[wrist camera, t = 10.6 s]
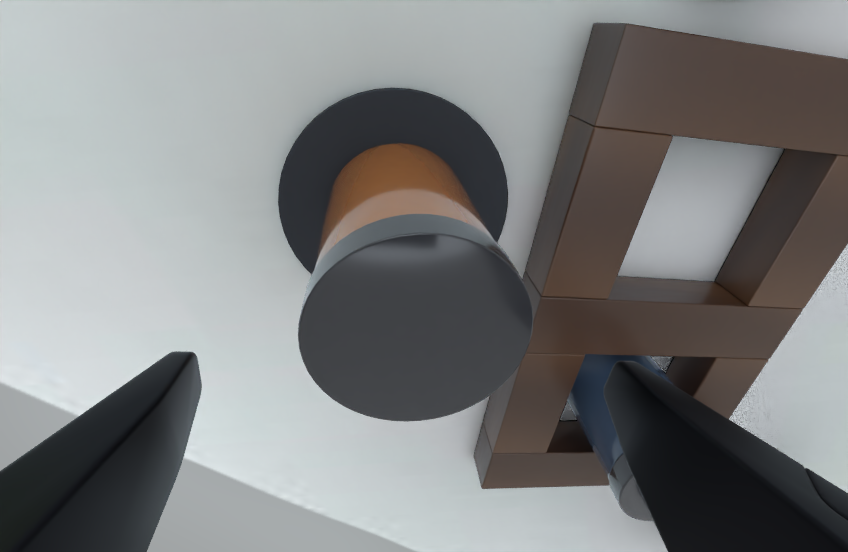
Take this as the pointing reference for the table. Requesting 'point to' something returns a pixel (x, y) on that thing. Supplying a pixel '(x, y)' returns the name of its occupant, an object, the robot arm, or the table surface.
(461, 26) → the table surface
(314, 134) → the coaster
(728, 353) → the jar stand
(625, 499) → the spice jar
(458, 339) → the amber jar
